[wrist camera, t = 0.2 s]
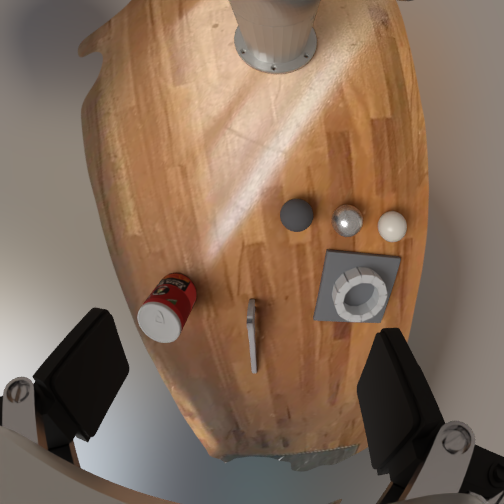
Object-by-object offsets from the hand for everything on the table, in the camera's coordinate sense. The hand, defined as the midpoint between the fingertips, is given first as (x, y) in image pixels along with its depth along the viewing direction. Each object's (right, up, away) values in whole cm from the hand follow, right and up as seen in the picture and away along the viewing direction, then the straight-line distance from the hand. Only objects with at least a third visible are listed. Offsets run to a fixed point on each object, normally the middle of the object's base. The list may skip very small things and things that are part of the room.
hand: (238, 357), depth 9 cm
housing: (+20, -3, +39) cm, 43 cm away
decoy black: (+7, +9, +32) cm, 34 cm away
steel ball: (+15, +8, +32) cm, 36 cm away
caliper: (+1, -14, +46) cm, 48 cm away
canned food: (-14, -4, +42) cm, 45 cm away
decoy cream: (+23, +8, +31) cm, 40 cm away
